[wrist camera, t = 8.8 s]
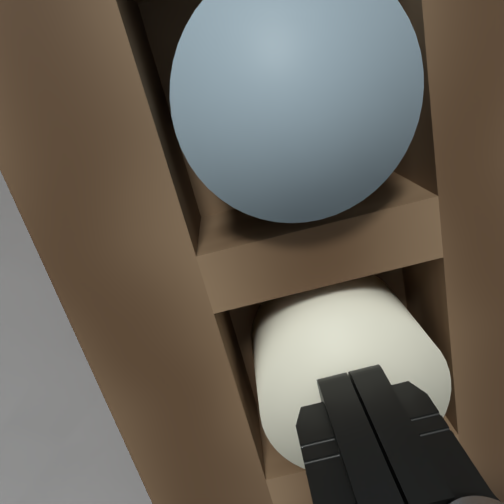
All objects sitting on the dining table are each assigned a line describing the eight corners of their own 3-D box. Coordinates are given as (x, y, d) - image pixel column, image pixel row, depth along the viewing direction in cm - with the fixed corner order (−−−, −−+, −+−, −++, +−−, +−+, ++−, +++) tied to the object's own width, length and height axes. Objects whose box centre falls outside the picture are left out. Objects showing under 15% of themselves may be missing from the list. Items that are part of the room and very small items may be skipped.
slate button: (356, -38, 10) (410, -82, 7) (382, 163, 12) (434, 191, 9) (157, 14, 10) (133, -9, 7) (211, 206, 12) (209, 247, 9)
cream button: (393, 246, 13) (443, 296, 10) (410, 378, 14) (457, 451, 11) (234, 286, 13) (238, 346, 10) (269, 412, 14) (282, 492, 12)
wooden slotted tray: (481, -202, 10) (605, -332, 7) (506, 518, 19) (565, 609, 16) (-25, -65, 10) (-136, -128, 7) (232, 582, 19) (234, 684, 16)
